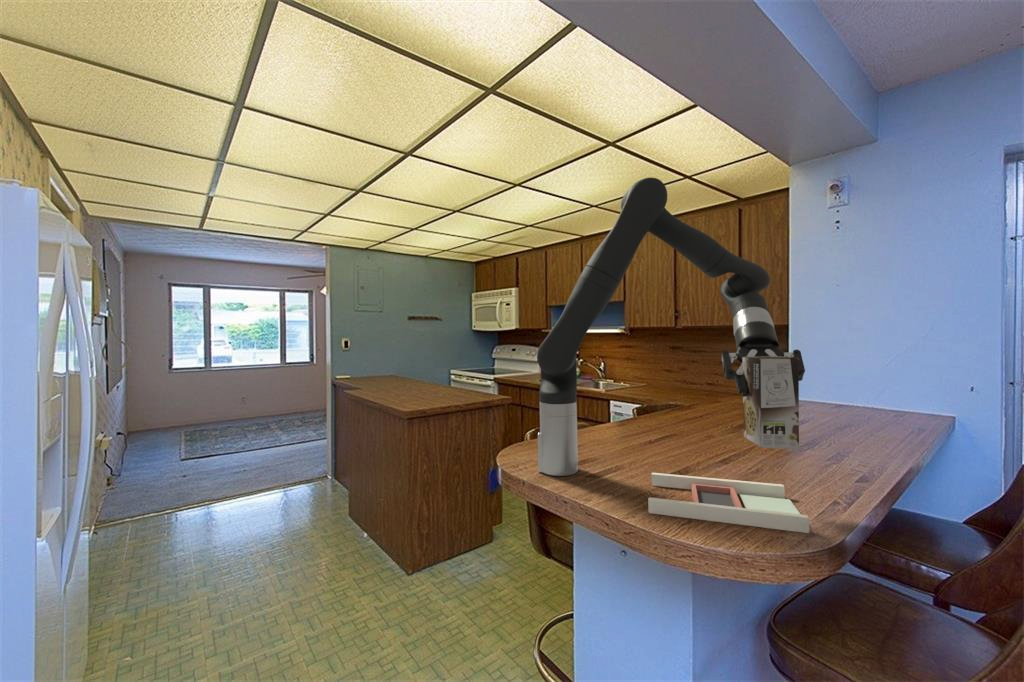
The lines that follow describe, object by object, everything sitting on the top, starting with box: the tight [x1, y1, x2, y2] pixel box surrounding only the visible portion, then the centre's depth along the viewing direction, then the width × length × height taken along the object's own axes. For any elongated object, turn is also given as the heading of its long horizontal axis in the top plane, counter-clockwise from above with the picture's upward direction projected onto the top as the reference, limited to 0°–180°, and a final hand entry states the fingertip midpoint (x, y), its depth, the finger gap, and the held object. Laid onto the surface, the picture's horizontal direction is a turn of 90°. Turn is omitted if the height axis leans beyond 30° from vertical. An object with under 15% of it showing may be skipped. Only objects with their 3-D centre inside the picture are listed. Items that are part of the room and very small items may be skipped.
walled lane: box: [647, 472, 810, 534], centre depth 79 cm, size 25×16×2 cm, turn 69°
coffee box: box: [742, 356, 800, 450], centre depth 76 cm, size 9×6×16 cm
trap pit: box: [691, 483, 743, 508], centre depth 79 cm, size 8×13×2 cm, turn 159°
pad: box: [739, 494, 801, 514], centre depth 76 cm, size 9×12×1 cm
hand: (767, 394), depth 76 cm, fingers closed on coffee box, 7 cm apart
